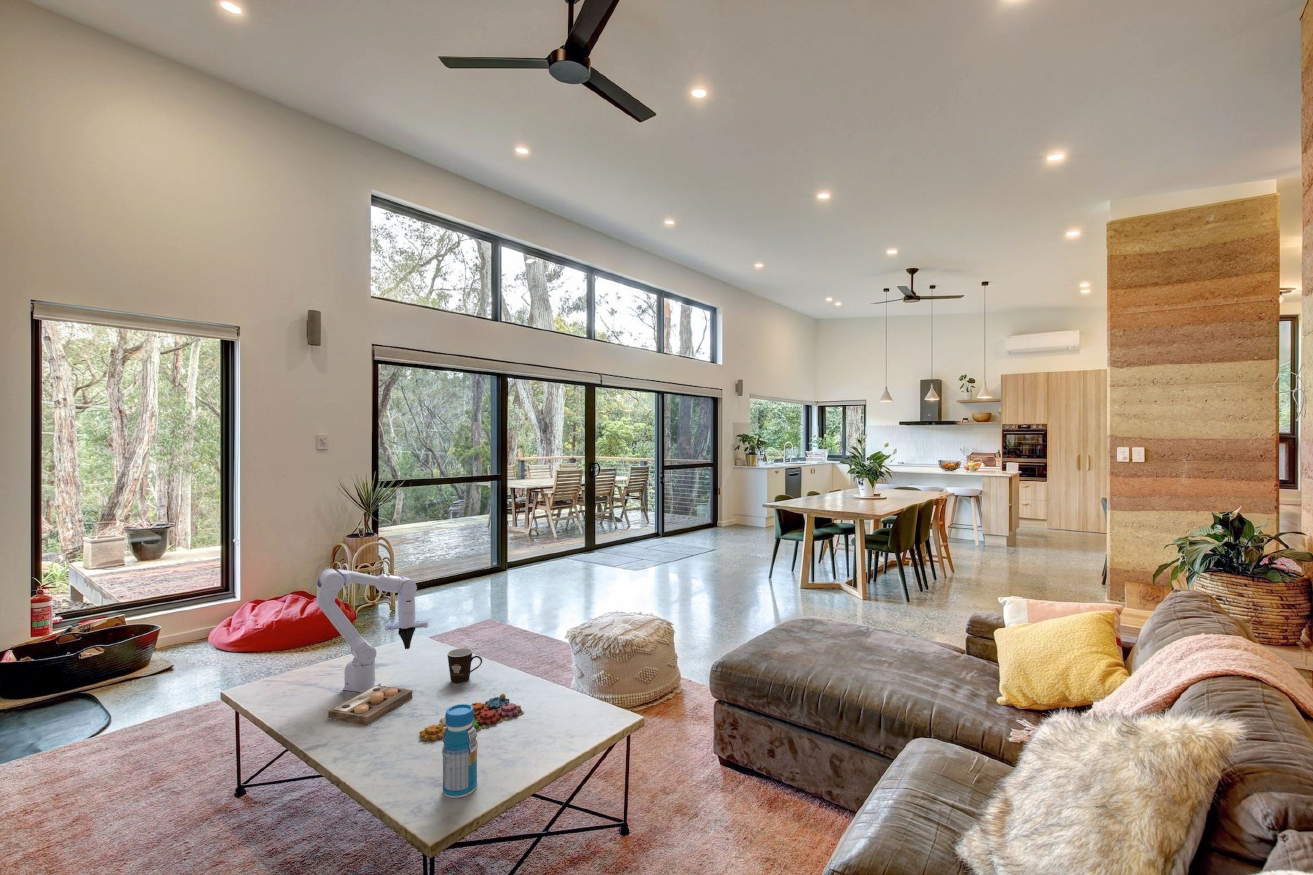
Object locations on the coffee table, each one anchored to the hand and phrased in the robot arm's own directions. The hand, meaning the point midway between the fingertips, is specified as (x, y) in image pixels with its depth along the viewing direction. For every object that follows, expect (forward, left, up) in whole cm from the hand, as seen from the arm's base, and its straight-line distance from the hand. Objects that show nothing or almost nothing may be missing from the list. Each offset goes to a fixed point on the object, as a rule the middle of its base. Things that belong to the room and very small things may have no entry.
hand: (407, 648), depth 219 cm
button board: (+6, -24, -10) cm, 27 cm away
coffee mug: (+22, +3, -11) cm, 24 cm away
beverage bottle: (+61, -54, -11) cm, 82 cm away
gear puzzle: (+42, -23, -11) cm, 49 cm away
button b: (+8, -24, -8) cm, 27 cm away
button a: (+8, -31, -9) cm, 33 cm away
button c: (+8, -18, -9) cm, 22 cm away
